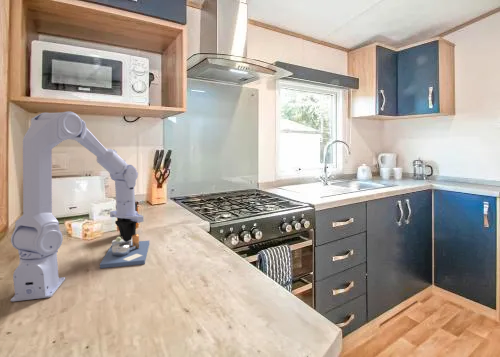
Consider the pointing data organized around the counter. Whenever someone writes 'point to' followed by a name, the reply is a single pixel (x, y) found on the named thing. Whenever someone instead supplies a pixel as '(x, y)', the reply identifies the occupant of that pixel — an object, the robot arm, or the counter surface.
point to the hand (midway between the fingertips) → (127, 240)
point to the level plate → (130, 259)
